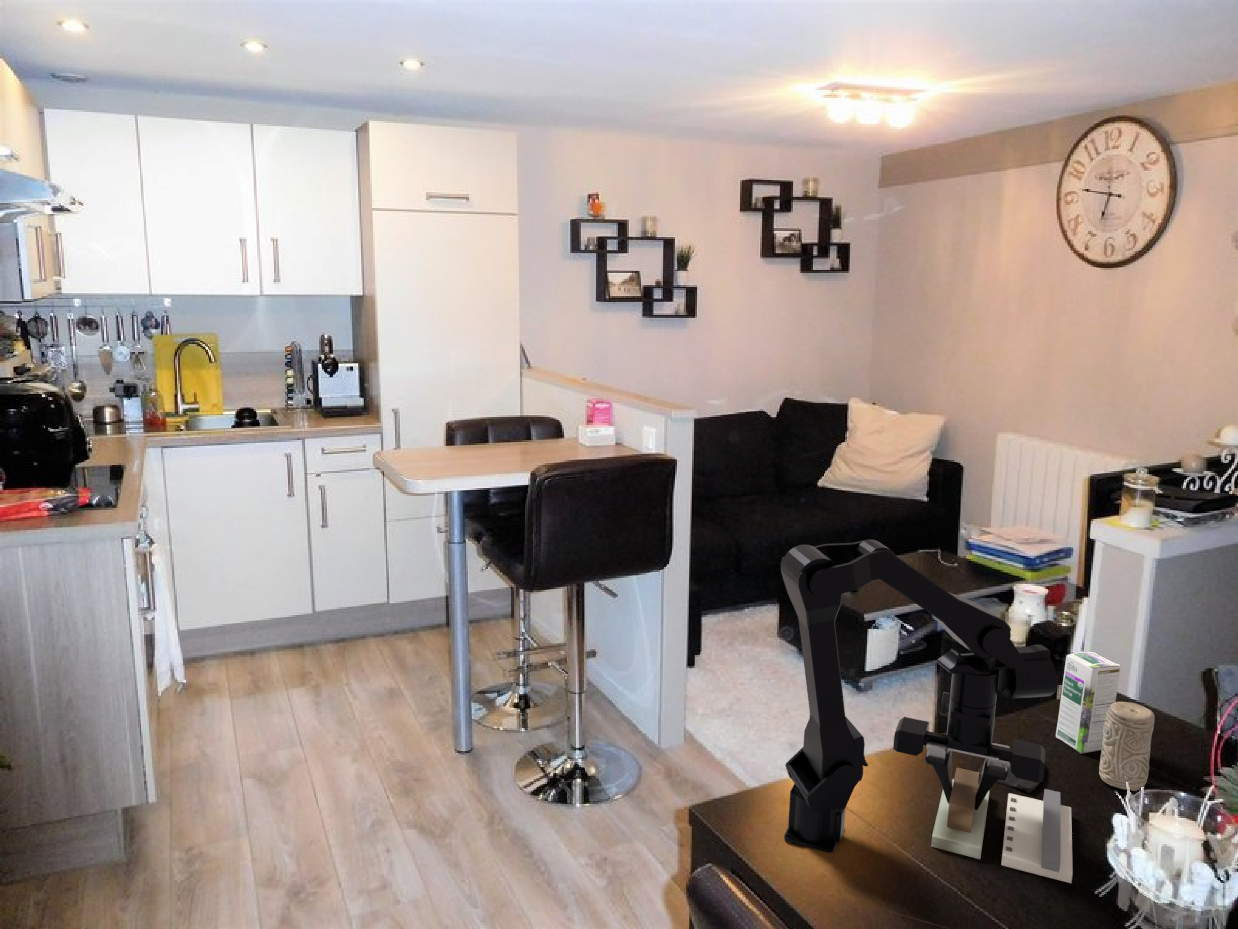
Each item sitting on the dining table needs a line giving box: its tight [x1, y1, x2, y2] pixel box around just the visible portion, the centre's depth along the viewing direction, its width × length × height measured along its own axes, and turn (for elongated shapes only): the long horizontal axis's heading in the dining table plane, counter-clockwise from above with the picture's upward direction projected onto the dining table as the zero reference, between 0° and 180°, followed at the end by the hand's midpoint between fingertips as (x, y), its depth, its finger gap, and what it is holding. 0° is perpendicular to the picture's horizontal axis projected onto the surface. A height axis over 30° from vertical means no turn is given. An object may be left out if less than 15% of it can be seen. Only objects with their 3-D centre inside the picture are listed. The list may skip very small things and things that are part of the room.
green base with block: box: [930, 767, 991, 860], centre depth 125 cm, size 6×16×5 cm, turn 155°
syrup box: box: [1055, 651, 1121, 754], centre depth 146 cm, size 6×6×14 cm
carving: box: [1098, 701, 1155, 792], centre depth 135 cm, size 6×8×12 cm
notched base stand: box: [1001, 788, 1074, 884], centre depth 122 cm, size 8×17×3 cm, turn 155°
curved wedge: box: [977, 762, 1041, 794], centre depth 140 cm, size 8×14×2 cm, turn 137°
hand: (962, 805), depth 125 cm, fingers closed on green base with block, 3 cm apart
